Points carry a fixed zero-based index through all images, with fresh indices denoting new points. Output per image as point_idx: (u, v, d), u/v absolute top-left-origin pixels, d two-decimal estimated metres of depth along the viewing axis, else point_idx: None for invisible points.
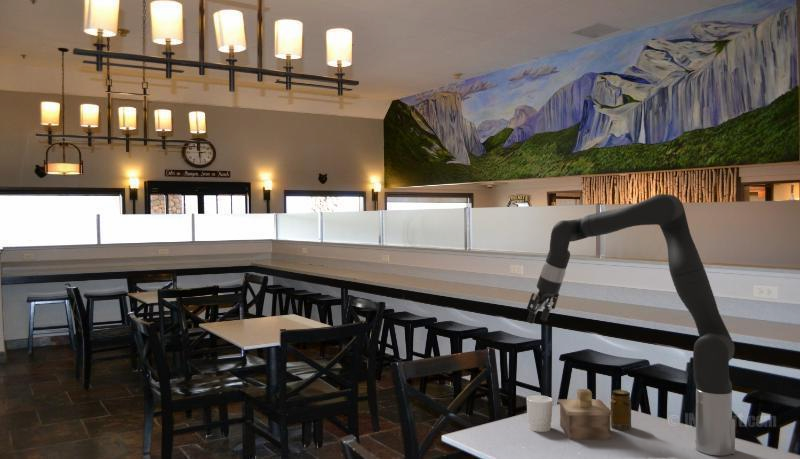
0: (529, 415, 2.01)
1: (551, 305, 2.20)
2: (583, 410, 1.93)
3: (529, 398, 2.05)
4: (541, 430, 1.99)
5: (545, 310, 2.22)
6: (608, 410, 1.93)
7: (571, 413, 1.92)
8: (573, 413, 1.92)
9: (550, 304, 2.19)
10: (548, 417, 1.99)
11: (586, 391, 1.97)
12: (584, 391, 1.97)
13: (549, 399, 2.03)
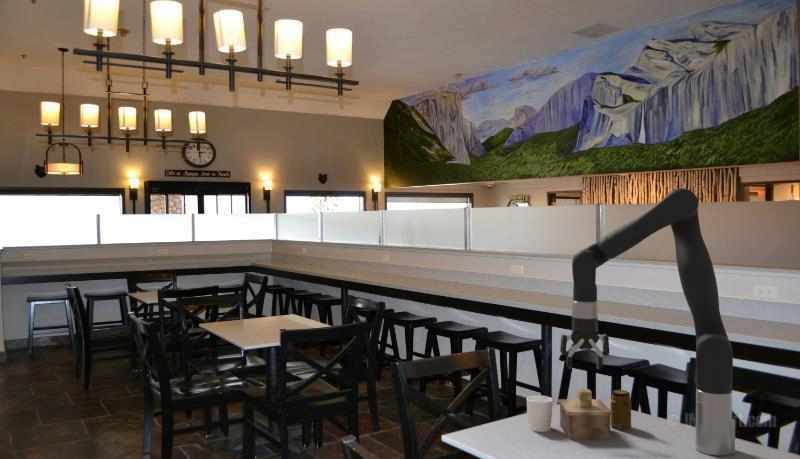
0: (529, 415, 2.01)
1: (596, 349, 1.96)
2: (583, 410, 1.93)
3: (529, 398, 2.05)
4: (541, 430, 1.99)
5: (597, 357, 1.98)
6: (608, 410, 1.93)
7: (571, 413, 1.92)
8: (573, 413, 1.92)
9: (593, 347, 1.96)
10: (548, 417, 1.99)
11: (586, 391, 1.97)
12: (584, 391, 1.97)
13: (549, 399, 2.03)
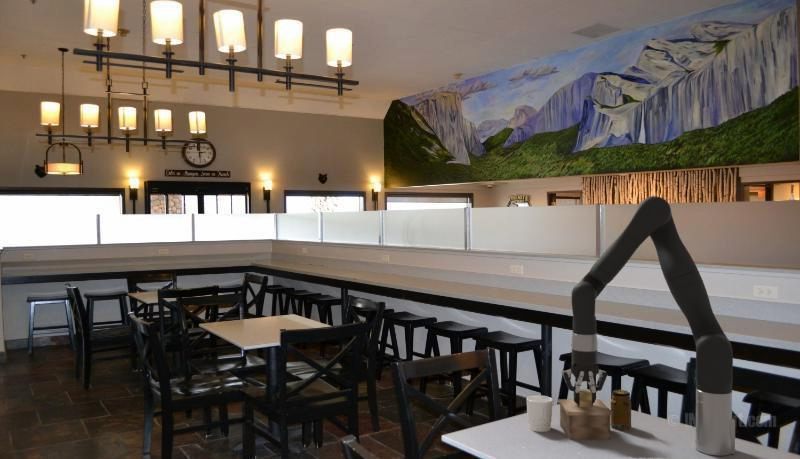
0: (529, 415, 2.01)
1: (592, 383, 1.96)
2: (583, 410, 1.93)
3: (529, 398, 2.05)
4: (541, 430, 1.99)
5: None
6: (608, 410, 1.93)
7: (571, 413, 1.92)
8: (573, 413, 1.92)
9: (590, 380, 1.96)
10: (548, 417, 1.99)
11: (586, 391, 1.97)
12: (584, 391, 1.97)
13: (549, 399, 2.03)
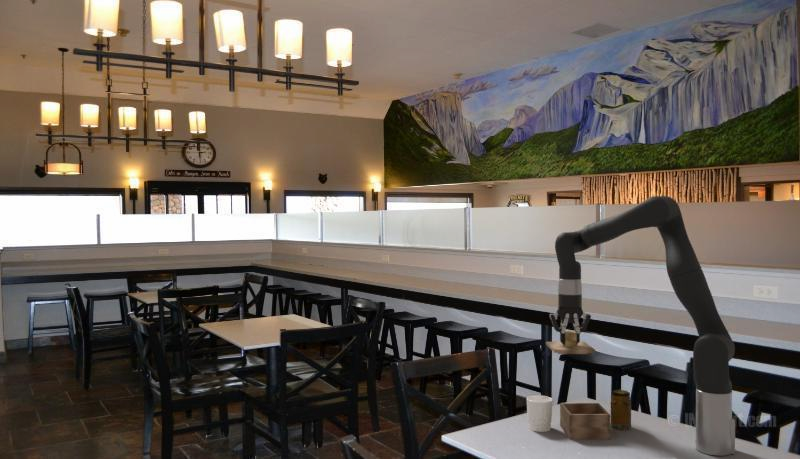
0: (529, 415, 2.01)
1: (577, 324, 2.14)
2: (569, 348, 2.11)
3: (529, 398, 2.05)
4: (541, 430, 1.99)
5: None
6: (591, 348, 2.10)
7: (557, 351, 2.09)
8: (559, 351, 2.09)
9: (575, 322, 2.14)
10: (548, 417, 1.99)
11: (571, 332, 2.14)
12: (569, 332, 2.15)
13: (549, 399, 2.03)
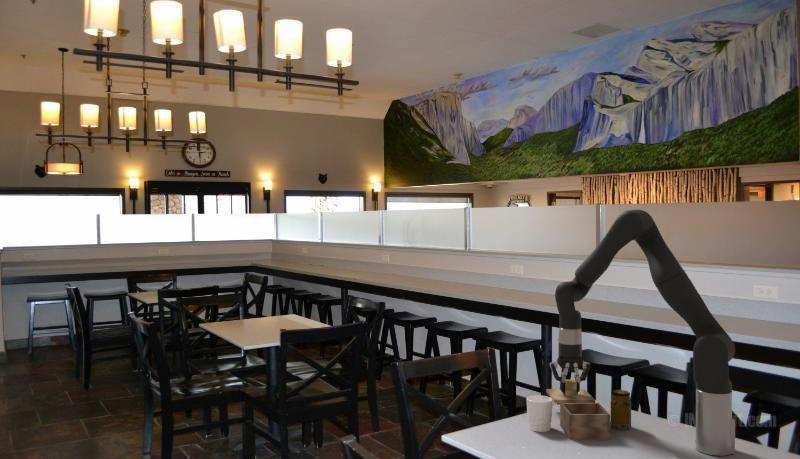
0: (529, 415, 2.01)
1: (577, 373, 2.14)
2: (569, 398, 2.11)
3: (529, 398, 2.05)
4: (541, 430, 1.99)
5: None
6: (591, 398, 2.11)
7: (557, 401, 2.10)
8: (559, 401, 2.10)
9: (575, 371, 2.14)
10: (548, 417, 1.99)
11: (571, 381, 2.15)
12: (569, 381, 2.15)
13: (549, 399, 2.03)
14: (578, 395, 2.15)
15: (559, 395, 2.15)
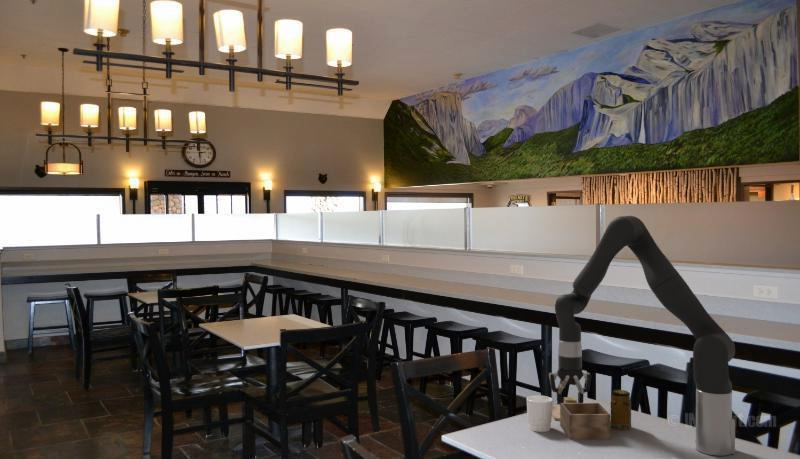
0: (529, 415, 2.01)
1: (579, 385, 2.14)
2: None
3: (529, 398, 2.05)
4: (541, 430, 1.99)
5: (578, 393, 2.16)
6: None
7: (557, 419, 2.10)
8: (559, 419, 2.10)
9: (576, 383, 2.14)
10: (548, 417, 1.99)
11: (571, 399, 2.15)
12: (570, 399, 2.15)
13: (549, 399, 2.03)
14: None
15: (559, 413, 2.15)
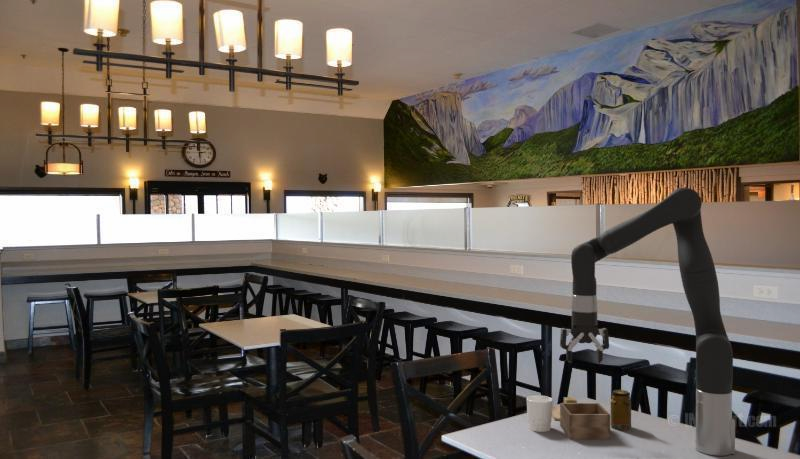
0: (529, 415, 2.01)
1: (596, 342, 1.96)
2: None
3: (529, 398, 2.05)
4: (541, 430, 1.99)
5: (597, 350, 1.98)
6: None
7: (557, 419, 2.10)
8: (559, 419, 2.10)
9: (593, 341, 1.96)
10: (548, 417, 1.99)
11: (571, 399, 2.15)
12: (570, 399, 2.15)
13: (549, 399, 2.03)
14: None
15: (559, 413, 2.15)
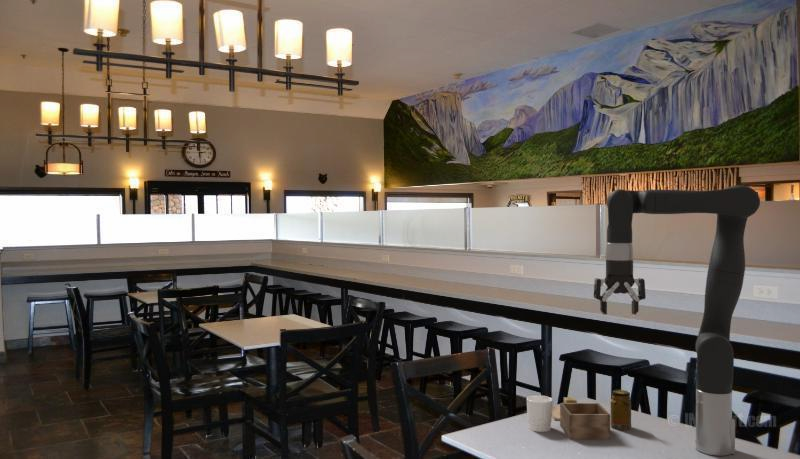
0: (529, 415, 2.01)
1: (632, 292, 1.87)
2: None
3: (529, 398, 2.05)
4: (541, 430, 1.99)
5: (632, 301, 1.89)
6: None
7: (557, 419, 2.10)
8: (559, 419, 2.10)
9: (629, 291, 1.87)
10: (548, 417, 1.99)
11: (571, 399, 2.15)
12: (570, 399, 2.15)
13: (549, 399, 2.03)
14: None
15: (559, 413, 2.15)
